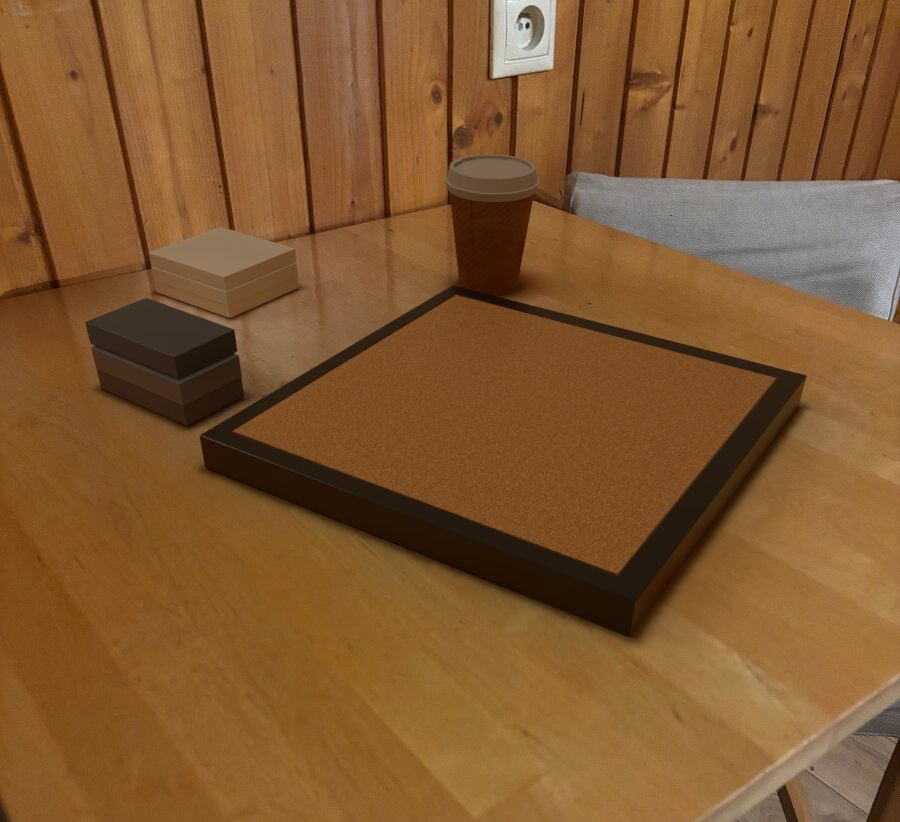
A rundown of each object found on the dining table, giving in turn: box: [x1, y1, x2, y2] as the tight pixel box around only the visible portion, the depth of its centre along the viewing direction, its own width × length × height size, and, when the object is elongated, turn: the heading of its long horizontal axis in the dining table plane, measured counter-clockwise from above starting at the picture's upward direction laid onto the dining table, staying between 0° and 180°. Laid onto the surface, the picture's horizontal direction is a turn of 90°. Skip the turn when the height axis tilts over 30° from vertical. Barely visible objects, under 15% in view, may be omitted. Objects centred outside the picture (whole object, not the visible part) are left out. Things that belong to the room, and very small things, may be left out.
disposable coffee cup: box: [444, 153, 541, 296], centre depth 97 cm, size 10×10×12 cm
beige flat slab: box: [148, 226, 297, 291], centre depth 97 cm, size 11×10×1 cm
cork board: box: [199, 284, 808, 637], centre depth 75 cm, size 36×3×35 cm
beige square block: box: [150, 262, 300, 319], centre depth 98 cm, size 11×10×3 cm
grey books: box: [84, 297, 245, 427], centre depth 79 cm, size 12×7×6 cm, turn 54°
